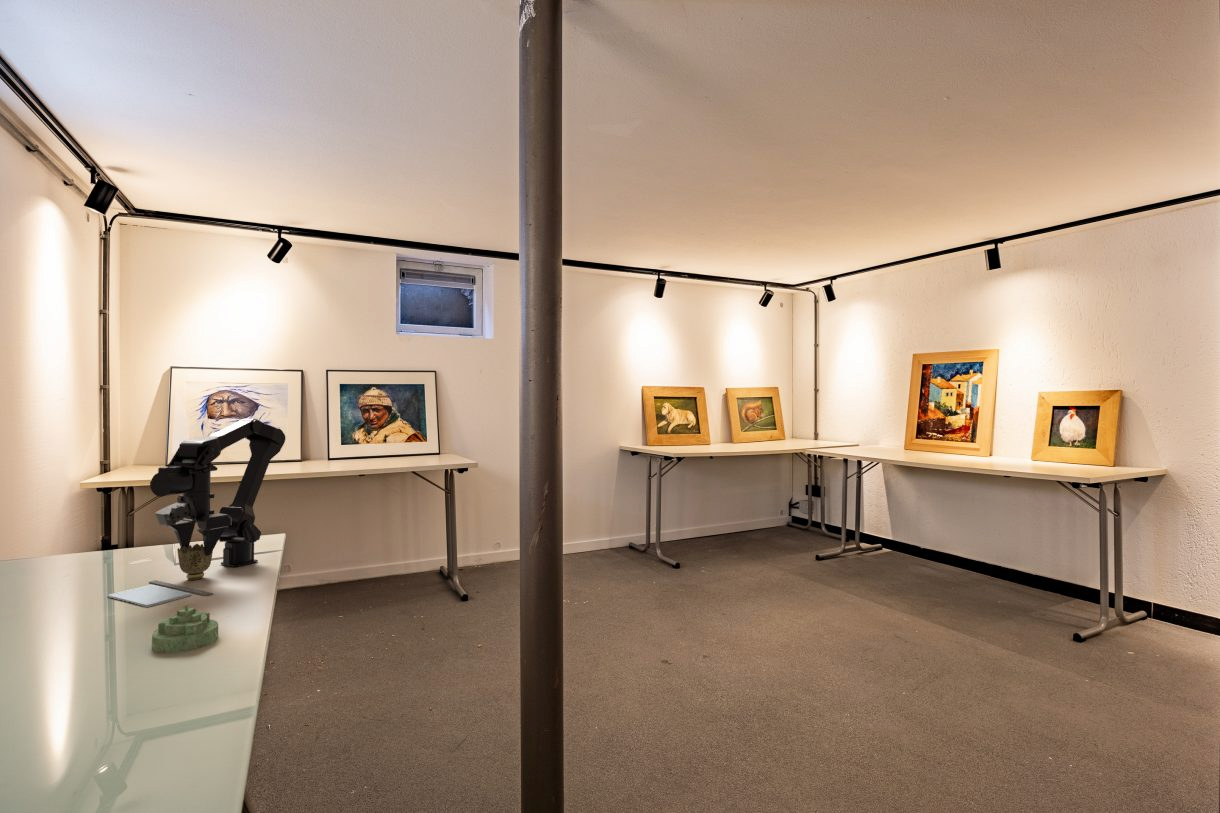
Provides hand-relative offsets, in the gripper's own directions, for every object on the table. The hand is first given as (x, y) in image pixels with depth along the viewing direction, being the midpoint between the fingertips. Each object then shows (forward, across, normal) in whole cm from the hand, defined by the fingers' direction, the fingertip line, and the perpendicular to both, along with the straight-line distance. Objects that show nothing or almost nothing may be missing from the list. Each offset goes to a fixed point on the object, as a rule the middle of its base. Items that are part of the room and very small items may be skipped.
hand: (196, 553), depth 150 cm
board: (+6, +5, -13) cm, 15 cm away
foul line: (+6, +5, -7) cm, 10 cm away
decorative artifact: (+7, +39, -25) cm, 47 cm away
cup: (+7, 0, 0) cm, 7 cm away
